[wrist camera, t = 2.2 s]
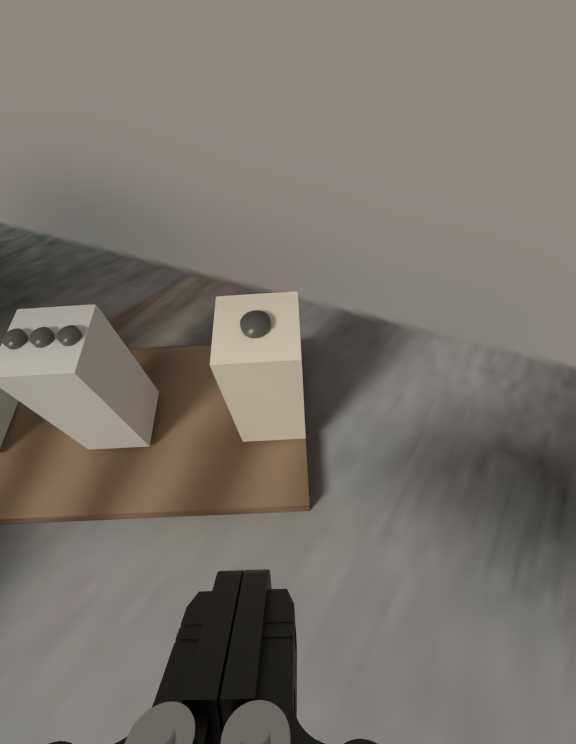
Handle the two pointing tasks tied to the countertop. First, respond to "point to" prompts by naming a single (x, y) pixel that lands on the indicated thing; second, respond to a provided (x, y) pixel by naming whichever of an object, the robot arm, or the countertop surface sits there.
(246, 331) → the one dot key
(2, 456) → the brown wooden board
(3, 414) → the two dot key
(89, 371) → the three dot key
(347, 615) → the countertop surface
